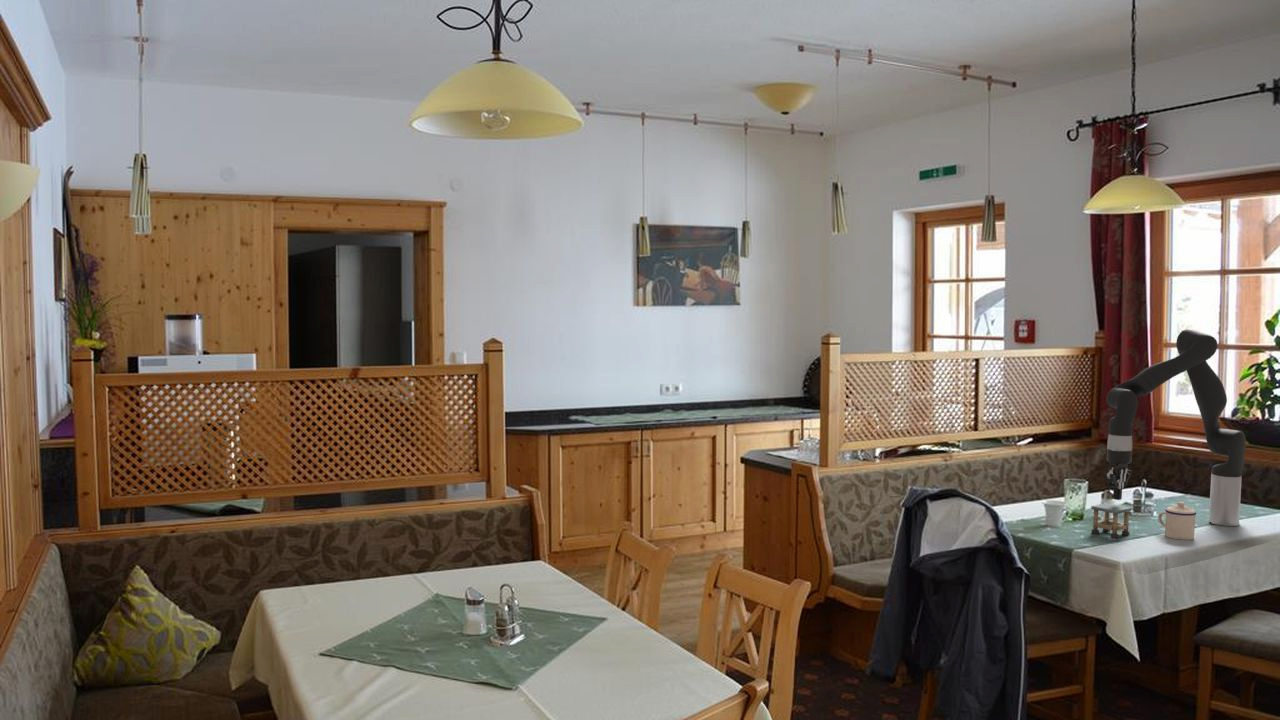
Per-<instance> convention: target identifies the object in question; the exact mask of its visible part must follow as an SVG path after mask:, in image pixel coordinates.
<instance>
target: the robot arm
mask: <svg viewBox="0 0 1280 720" xmlns="http://www.w3.org/2000/svg"><path fill="white" fill-rule="evenodd" d="M1217 349H1218V341H1217V339H1216V337H1214V336H1213V335H1210V334H1208V333H1205V332H1203V331H1200V330H1198V329H1191V328H1187V329H1183V330H1181V332H1179V334H1178V335H1177V337H1176V350H1177V353H1178V356H1175V357H1173V358H1170V359H1167V360H1164V361H1161V362H1158V363H1154V364H1152V365H1150V366H1149V367H1146V368H1144V370H1142V371H1140V372H1139V373H1138V374H1137V375H1135V376H1134V377H1133V378H1130V379H1128V380H1125V381H1123V382H1122V383H1120V384H1118V385H1116V386H1114V387H1112V388H1111V389H1110V390H1109V391H1108V392H1107V395H1106V398H1105V400H1106V404H1107V405H1108V406H1109V407H1110V408H1112V409H1116V413H1115V415H1114V416H1113V417H1111V418H1110V419H1109V421H1108V437H1107V444H1106V445H1107V446H1106V450H1107V451H1106V461H1107V462H1108V463H1109V464H1110V466H1109V467H1108V469H1109V471H1108V472H1105V473H1104V477H1105V479H1106V482H1107V483H1108V486H1109V488H1110V487H1111V488H1112V491H1113V493H1112V499H1113V500H1116V501H1121V500H1122V499H1123V489H1124V488H1125V487H1126V486H1127V485H1128V483H1129V480H1130V478H1131V477H1132V473H1133V471H1132V470H1129V465H1128V464H1131V463H1132V458H1133V457H1132V456H1133V424H1134V420H1135V417H1136V414H1137V410H1138V405H1139V400H1138V397H1141V396H1147V395H1149V394H1150V393H1152V392H1153V391H1155V390H1156V389H1158V388H1159V387H1161V385H1163V384H1165V383H1166V382H1168V381H1170V380H1171V379H1172V378H1174V377H1176V376H1178V375H1180V374H1182V373H1184V372H1186V373H1187V376H1188V379H1189V382H1190V384H1191V387H1192V391H1193V395H1194V399H1195V402H1196V405H1197V407H1198V410H1199V413H1200V417H1201V420H1202V424H1203V429H1204V434H1205V435H1204V436H1205V440H1206V443H1207V444H1206V445H1207V447H1208V449H1209V451H1210V452H1211V453H1212V454H1215V455H1219V456H1225V457H1227V461H1226V462H1224V463H1219V464H1215V465H1212V467H1211V470H1210V471H1211V472H1210V474H1211V475H1210V491H1209V492H1210V493H1209V494H1210V495H1209V513H1208V515H1209V516H1208V522H1209V523H1210V522H1211V524H1214V525H1218V526H1225V527H1235V526H1236V527H1238V526H1239V525H1240V514H1241V513H1240V512H1241V511H1240V510H1241V495H1242V492H1241V491H1242V476H1243V469H1244V464H1245V454H1246V445H1247V444H1246V443H1247V439H1246V436H1245V435H1246V434H1244V432H1243V431H1242V430H1237V429H1236V430H1235V429H1228V428H1222V427H1221V426H1220V422H1219V418H1220V417H1221V414H1222V413H1223V412H1224V409H1225V408H1226V406H1227V402H1228V397H1227V393H1226V390H1225V387H1224V384H1223V382H1222V380H1221V379H1220V377H1219V376H1218V375H1217V373H1216V372H1215V371H1214V370H1213V369H1212V367H1211V366H1210V365H1209V363H1208V362H1207V361H1208V360H1209V359H1211V358H1212V357H1213V356H1214V355H1215V353H1217Z"/></svg>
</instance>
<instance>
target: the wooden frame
mask: <svg viewBox="0 0 1280 720" xmlns="http://www.w3.org/2000/svg"><path fill="white" fill-rule="evenodd" d="M1090 509H1091V510H1093V518H1092V522H1093V524H1092V529H1091V534H1092V533H1093V535H1099V533H1100V530H1099V529H1102V531H1103V532H1106V531H1109V532H1111V533H1110V538H1111V537H1112V538H1111V539H1119V534H1118V532H1119V531H1121V535H1122V536H1124V535H1127V536H1128V535H1129V536H1130V531H1129V524H1130V523H1129V518H1130V512H1132V511H1133V507H1128V506H1124V505H1119V504H1113V503H1108V502H1105V503H1100V504H1095V505H1091V507H1090ZM1099 511H1100V512H1104V519H1102V520H1099ZM1110 514H1112V520H1110ZM1119 514H1124V515H1123V522H1119V521H1118V519H1119V517H1118V515H1119ZM1127 536H1126V537H1127ZM1129 536H1128V537H1129Z"/></svg>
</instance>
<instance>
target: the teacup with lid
mask: <svg viewBox="0 0 1280 720" xmlns="http://www.w3.org/2000/svg"><path fill="white" fill-rule="evenodd" d="M1163 515H1165V522H1164V521H1163V520H1162V519H1163V518H1162V516H1163ZM1196 515H1197V511H1196V510H1195V509H1193V508H1191V507H1189V506H1187V505H1185V502H1183V501H1177V504H1174V505H1171V506H1168V507H1166V508H1165V510H1164V511H1160V513H1158V516H1157V519H1158V522H1159V524H1160V525H1161V526H1163V528H1164V535H1165V536H1166V537H1167V538H1170V539H1173V538H1174V539H1175V540H1180V539H1181V540H1182V541H1183V540H1184V541H1188V540H1189V541H1190V540H1193V539H1194V538H1195V531H1196V529H1195V526H1196ZM1181 540H1180V541H1181Z"/></svg>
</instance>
